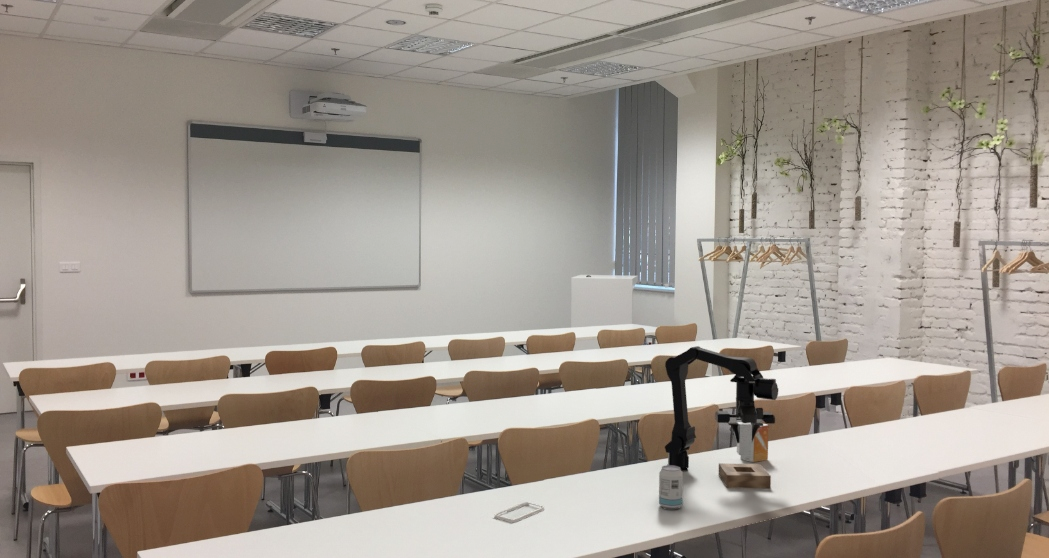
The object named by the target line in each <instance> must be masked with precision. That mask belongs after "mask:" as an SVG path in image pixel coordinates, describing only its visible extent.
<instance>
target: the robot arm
mask: <svg viewBox="0 0 1049 558" xmlns="http://www.w3.org/2000/svg"><path fill="white" fill-rule="evenodd" d="M696 360H697V361H701V362H704V363H708V364H711V365H715V366H718V367H721V368H724V369H726V370H728V371H729V372H730V373H732V374H734V376H733V377H732V378H730V380H729V381H730V383H735V385H736V386H735V389H736V391H735V392H736V393H735V394H736V395H735V396H736V397H735V413H729V412H728V410H726V411H724V410H723V411H722V410H717V411H715V412H714V420H715V421H716V422H717V423H719V424H720V423H721V424H722V423H724V424H727V425H728V426H730V427H731V430H732V433H733V435H734V439H735V441H736V444H737V443H739V436H738V423H737V422H738V421H741V422H743V423H751V425H752V441H753V439H754V436H755V434H756V431H757V430H758V428H759V427H760V426H763V424H767V425H769V424H770V425H775V424H776V417H775V415H774V413H772V412H770V411H764V408H763V407H756V405H755V397H756V398H757V399H762V400H770V401H776V400H777V398H778V396H779V388H778V384H777V380H776V378H765V377H764V375H762V373H761V371H760V370H759V368H758V366H757V363H756V360H755V359H754V358H751V357H744V356H729V355H726V354H724V353H720V352H716V351H713V350H710V349H707V348H703V347H701V346H699V345H698V346H693V347H692V346H691V347H690V348H688V349H687V350H686V351H683V352H682V353H679V354H678V355H675V356H670V357H669V358H667V360H665V364H664V366H665V371H666V375H667V377H668V379H669V381H670V382H671V393H672V396H671V397H672V405H673V406H672V407H673V417H674V424H673V427H672V431H671V437H670V438H671V439H670V441H669V442H668V443H666V445H665V446H664V449H665V453H667V465H673V466H678V467H680V470H681V472H685V471H686V472H688V470H689V467H690V466H689V465H690V464H689V462H690V457H689V455H688V450H690V448H691V446H692V445H693V444H694V443H695V439H697V436H696V427H695V426H691V424H690V422H689V415H688V414H689V412H688V402H687V399H688V398H687V391H686V389H687V388H686V381H687V376H688V373H689V365H691V364H692V363H694V362H695V361H696ZM763 422H764V423H763Z"/></svg>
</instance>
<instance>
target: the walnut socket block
mask: <svg viewBox="0 0 1049 558" xmlns="http://www.w3.org/2000/svg"><path fill="white" fill-rule="evenodd" d="M718 476H719V478H720V479H721V481H722V483H723V484H724V485H725V486H726V488H743V489H744V488H747V489H749V488H750V489H751V488H754V489H771V483H772V482H771V479H772V475H770V473H769V472H768V471H767V470H766V469H765V468H764V466H763V465H761V463H720V462H719V463H718Z"/></svg>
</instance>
